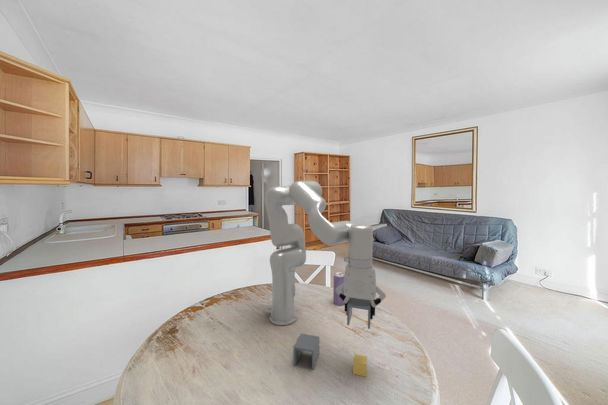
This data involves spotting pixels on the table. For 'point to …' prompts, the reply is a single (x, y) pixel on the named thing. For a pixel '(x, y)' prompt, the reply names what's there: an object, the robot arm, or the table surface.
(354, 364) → the cube
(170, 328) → the table surface
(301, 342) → the left cover
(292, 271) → the plastic bottle
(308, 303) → the table surface
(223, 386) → the table surface
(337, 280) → the beverage can
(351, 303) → the right cover
